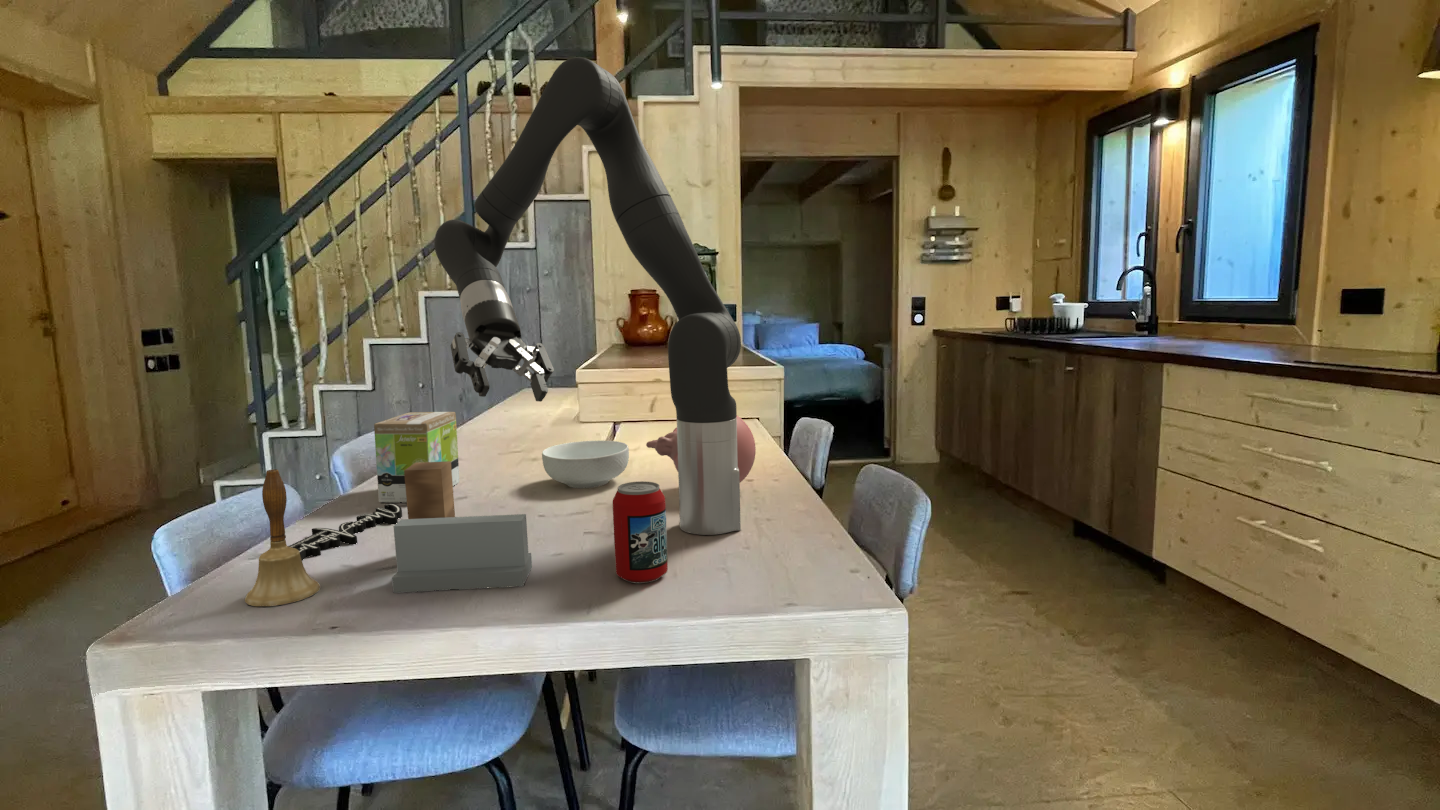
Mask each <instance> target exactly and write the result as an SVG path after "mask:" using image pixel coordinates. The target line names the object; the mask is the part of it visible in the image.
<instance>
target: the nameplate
mask: <svg viewBox="0 0 1440 810" xmlns="http://www.w3.org/2000/svg"><path fill="white" fill-rule="evenodd" d="M402 511H403V508H402V506H401V505H399V504H397V503H386V504H384V505H383V507H376V508H375V511H373V512H372V513H363V514H360V515H357V516H356V521H347V522H343V523H341V524H339V526H338V529H332V528H327V527H314V528H311V535H309V536H307V537H305V538H303V539H301V540H299V541H297V542H294V543H292V544H290V545H288V546H289V547H291V548H295V549H297V550H299V552H300V557H301V560H302V561H304V560H305V559H306V558H309V556H310V557H314V556H315V557H319V556H322V553H321V552H323V551H327V550H330V549H331V548H332V547H333V548H332V549H336V548H335V547H337V548H340V547H341V546H342V545H341V544H342V543H343V542H345V543H344V544H346V543H349V544H348V545H350V544H355V545H357V544H358V536H357V535H356V534H355V533H357V534H358V532H360V533H363V531H364V532H365V530H367V529H370V527H372V528H376V526H377V524H380V525H383V524H386V523H388V524H387V525H391V524H394V525H396V523H398V522H399V521H398V520H399V519H398V518H400V519H401V517H403V512H402ZM383 522H384V523H383ZM356 543H357V544H356ZM339 546H340V547H339ZM303 559H304V560H303Z"/></svg>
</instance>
